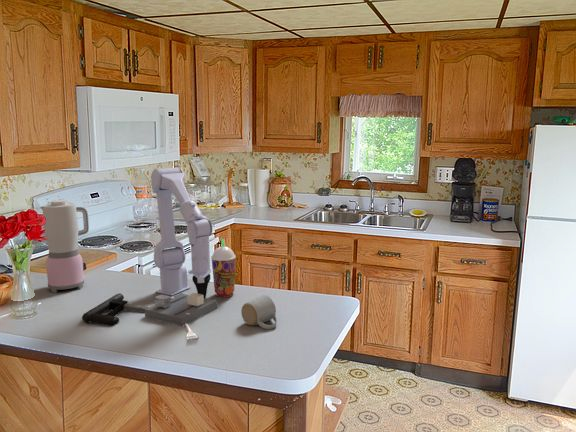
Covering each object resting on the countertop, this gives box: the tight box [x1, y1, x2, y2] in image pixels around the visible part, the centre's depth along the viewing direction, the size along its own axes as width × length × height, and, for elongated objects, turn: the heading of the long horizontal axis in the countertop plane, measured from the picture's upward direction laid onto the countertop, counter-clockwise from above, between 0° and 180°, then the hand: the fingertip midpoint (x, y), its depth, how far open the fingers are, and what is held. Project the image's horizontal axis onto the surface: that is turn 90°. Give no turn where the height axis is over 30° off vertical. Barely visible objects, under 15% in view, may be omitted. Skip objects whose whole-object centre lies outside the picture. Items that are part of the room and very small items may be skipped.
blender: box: [39, 199, 90, 293], centre depth 187 cm, size 16×12×32 cm
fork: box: [184, 323, 199, 341], centre depth 151 cm, size 3×20×2 cm, turn 20°
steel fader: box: [154, 294, 172, 308], centre depth 162 cm, size 3×4×3 cm
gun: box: [81, 293, 149, 326], centre depth 164 cm, size 3×20×16 cm
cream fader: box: [187, 292, 204, 306], centre depth 163 cm, size 3×4×3 cm
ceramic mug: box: [241, 294, 278, 330], centre depth 154 cm, size 11×8×8 cm
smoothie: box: [210, 238, 237, 298], centre depth 178 cm, size 8×8×20 cm
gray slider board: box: [144, 292, 218, 327], centre depth 164 cm, size 17×15×3 cm
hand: (202, 297), depth 166 cm, fingers closed
